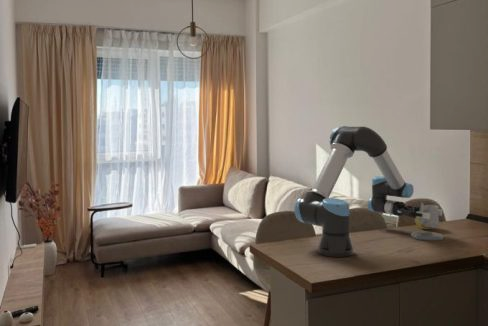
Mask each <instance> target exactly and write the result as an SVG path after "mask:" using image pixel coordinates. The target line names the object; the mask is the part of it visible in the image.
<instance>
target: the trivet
mask: <svg viewBox="0 0 488 326" xmlns="http://www.w3.org/2000/svg"><path fill="white" fill-rule="evenodd" d="M410 237H411V238H413V239H414V240H418V241H426V242H439V241H443V240H444V235H443V234H442V233H440V232H439V233H438V232H436V231H435V232H434V231H426V230H422V231H421V230H419V231H418V230H417V231H412V232H411V233H410Z"/></svg>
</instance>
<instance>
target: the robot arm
mask: <svg viewBox="0 0 488 326" xmlns="http://www.w3.org/2000/svg"><path fill="white" fill-rule="evenodd" d="M329 145H330V149H331V152H330V153H329V156H328V157H327V160H326V162H325V163H324V166H323V167H322V169H321V171H320V173H319V175H318V176H317V179H316V181H315V183H314V185H313V186H312V189H311V190H308V191H306V194H305V195H304V196H301V197H299V198H298V199H297V200H296V201H295V204H294V214H295V218H296V219H297V220H298V222H301V223H303V224H305V225H312V226H318V227H321V229H322V230H321V231H322V234H321V237H320V241H319V244H318V247H317V250H318V251H317V252H318V254H319V255H322V256H325V257H330V258H346V257H350V256H351V257H352V256H353V254H354V248H353V247H354V246H353V244H352V241H351V238H350V215H351V212H350V204H349V202H347V201H345V200H344V199H340V198H334V197H331V196H330V195H331V194H332V192H333V191H334V188H335V186H336V183H337V181H338V179H339V177H340V175H341V174H342V171H343V169H344V167H345V164H346V163H347V161H348V159H350V158H352V157H353V156H354V154H355V152H357V151H358V152H361V151H362V152H364V153H366V154H367V155H368V157H370V158H372V159H373V161H374V163H375V164H376V166H377V168H378V169H379V171H380V172H381V174H382V176H374V177H372V180H371V181H372V182H371V196H372V197H370V198H369V199H368V201H367V205H366V206H367V209H368V211H371V212H375V213H380V214H386V215H389V216H392V215H393V216H397V217H402V216H406V217H408V218H413V219H415V218H416V217H419V218H425V219H430V213H425V212H424V211H423V212H419V211H420V207H421V206H417V205H406V204H405V202H403V201H398V200H397V201H396V200H392V199H387V197H389V196H390V197H396V198H402V199H409V198H411V197H412V196H413V194H414V185H413V184H411V183H408V182H406V181H405V180H404V178H403V176H402V175H401V173H400V171H399V170H398V168H397V166H396V164H395V162H394V160H393V159H392V157H391V155H390V153H389V152H388V146H387V144H386V142H385V140H384V139H383V138H382V136H381V135H379V134H378V132H376V131H375V130H373V129H372V128H370V127H367V126H346V125H344V126H338V127H335V128H334V129H333V130H332V132H331V134H330V135H329ZM438 212H439V216H442V215H443V209H438Z"/></svg>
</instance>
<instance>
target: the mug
mask: <svg viewBox="0 0 488 326" xmlns="http://www.w3.org/2000/svg"><path fill="white" fill-rule="evenodd" d="M419 207H420V211H419V212H423V211H424V212H425V213H430V219H425V218H419V217H418V220H419V223H420V225H422V224H423V225H424V226H426V227H432V228H438V227H439V225H440V221H439V216H440V215H439V212H438V210H439V206H438V205H435V204H427V205H425V204H424V202H421V203H420V206H419Z"/></svg>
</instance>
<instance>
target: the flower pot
mask: <svg viewBox="0 0 488 326" xmlns="http://www.w3.org/2000/svg"><path fill="white" fill-rule="evenodd" d="M414 222H415V225H416V226H417V227H418V228H419V229H421V230H431V229H433V227H426V226H424V225H423V224H422V225H420V223H419V220H418V217H416V218H414Z"/></svg>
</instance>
